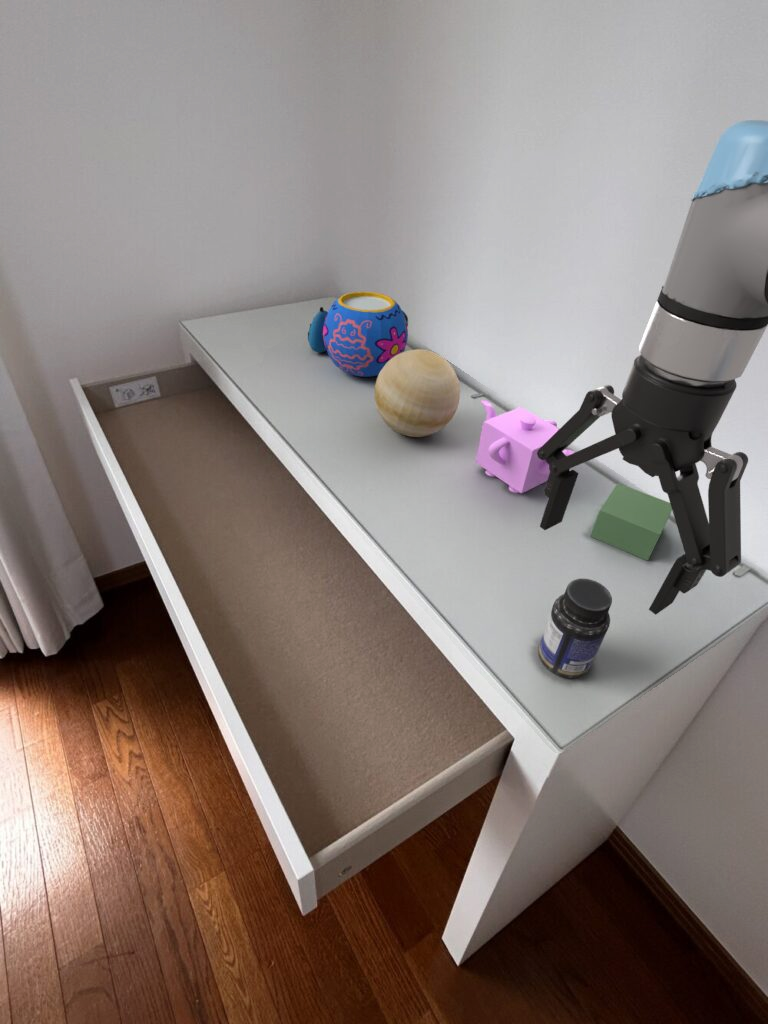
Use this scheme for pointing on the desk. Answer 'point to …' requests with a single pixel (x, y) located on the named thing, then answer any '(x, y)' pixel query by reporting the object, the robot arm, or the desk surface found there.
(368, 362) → the ceramic pot
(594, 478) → the desk surface
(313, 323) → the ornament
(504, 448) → the teapot
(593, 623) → the pill bottle
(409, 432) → the decorative ball
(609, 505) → the block
